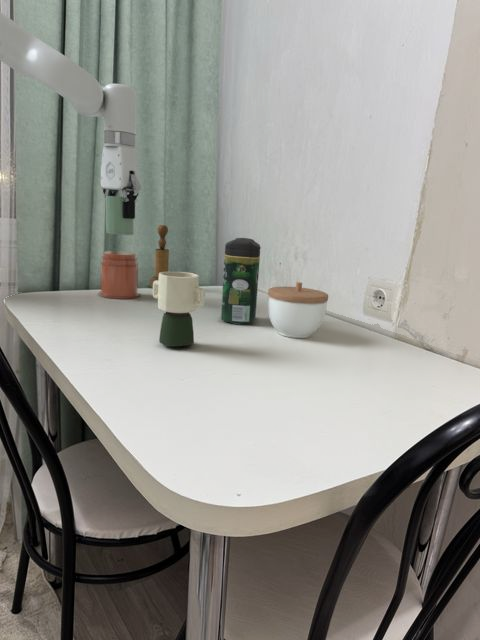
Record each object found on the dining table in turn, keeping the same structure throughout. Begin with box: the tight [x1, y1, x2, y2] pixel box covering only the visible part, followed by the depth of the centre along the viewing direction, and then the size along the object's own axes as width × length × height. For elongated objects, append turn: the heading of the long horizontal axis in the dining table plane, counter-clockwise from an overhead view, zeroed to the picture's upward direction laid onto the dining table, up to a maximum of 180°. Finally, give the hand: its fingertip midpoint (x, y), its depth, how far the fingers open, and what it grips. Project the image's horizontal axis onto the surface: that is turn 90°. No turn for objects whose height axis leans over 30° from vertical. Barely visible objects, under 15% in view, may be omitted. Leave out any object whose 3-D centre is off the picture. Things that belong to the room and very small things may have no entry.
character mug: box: [152, 271, 206, 348], centre depth 90 cm, size 11×7×13 cm, turn 64°
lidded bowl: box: [267, 281, 329, 339], centre depth 107 cm, size 13×13×11 cm
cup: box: [105, 195, 135, 236], centre depth 127 cm, size 7×7×9 cm
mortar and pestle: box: [149, 224, 170, 289], centre depth 147 cm, size 7×6×18 cm
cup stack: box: [99, 250, 139, 300], centre depth 131 cm, size 10×10×11 cm
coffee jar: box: [220, 237, 262, 325], centre depth 113 cm, size 10×8×19 cm
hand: (120, 216), depth 127 cm, fingers closed on cup, 6 cm apart
